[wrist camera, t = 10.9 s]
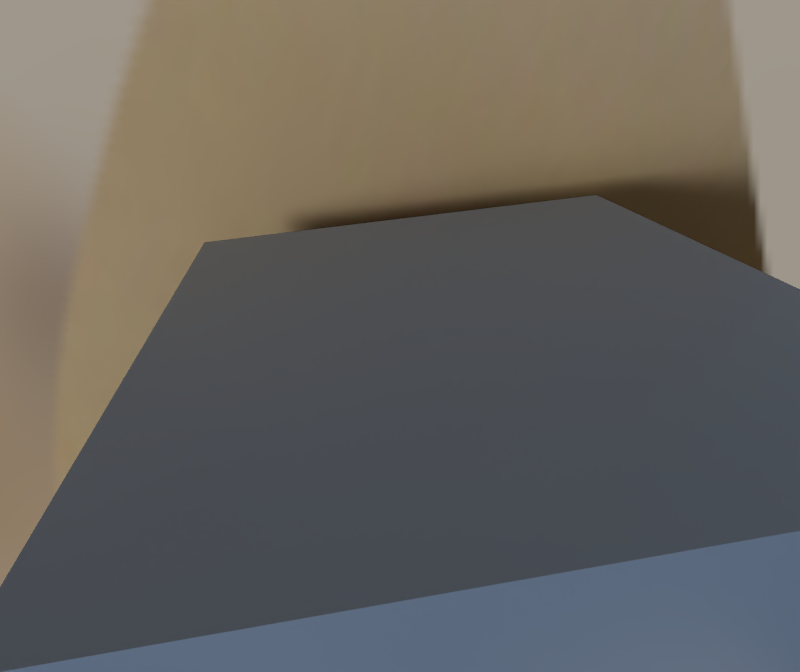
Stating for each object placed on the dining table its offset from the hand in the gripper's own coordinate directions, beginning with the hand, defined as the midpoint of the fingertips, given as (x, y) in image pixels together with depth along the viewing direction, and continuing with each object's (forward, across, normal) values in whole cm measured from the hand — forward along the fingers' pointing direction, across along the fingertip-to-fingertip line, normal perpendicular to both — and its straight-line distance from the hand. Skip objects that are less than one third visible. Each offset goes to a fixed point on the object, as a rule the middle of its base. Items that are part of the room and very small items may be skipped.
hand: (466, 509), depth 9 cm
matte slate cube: (+4, 0, +1) cm, 4 cm away
